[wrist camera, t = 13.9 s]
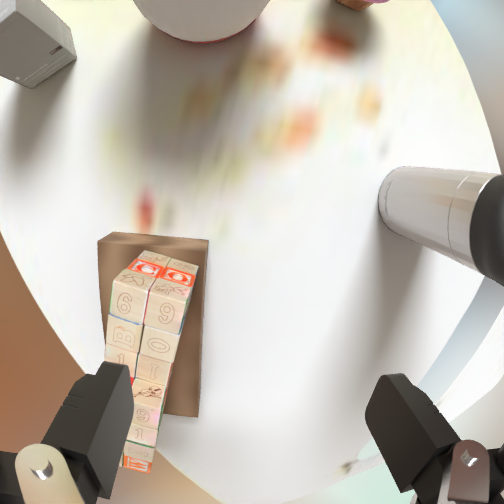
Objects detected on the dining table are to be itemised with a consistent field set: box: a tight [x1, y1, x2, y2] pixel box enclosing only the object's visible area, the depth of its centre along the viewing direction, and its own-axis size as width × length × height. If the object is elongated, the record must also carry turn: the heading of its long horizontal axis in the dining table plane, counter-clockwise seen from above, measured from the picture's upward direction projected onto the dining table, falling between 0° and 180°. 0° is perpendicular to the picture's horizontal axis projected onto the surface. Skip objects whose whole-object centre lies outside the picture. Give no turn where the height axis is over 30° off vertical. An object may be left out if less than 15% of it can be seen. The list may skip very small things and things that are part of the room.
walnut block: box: [98, 232, 208, 417], centre depth 36 cm, size 12×24×5 cm, turn 173°
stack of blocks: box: [105, 250, 199, 474], centre depth 27 cm, size 21×6×12 cm, turn 162°
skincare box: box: [0, 0, 77, 89], centre depth 19 cm, size 8×7×16 cm
